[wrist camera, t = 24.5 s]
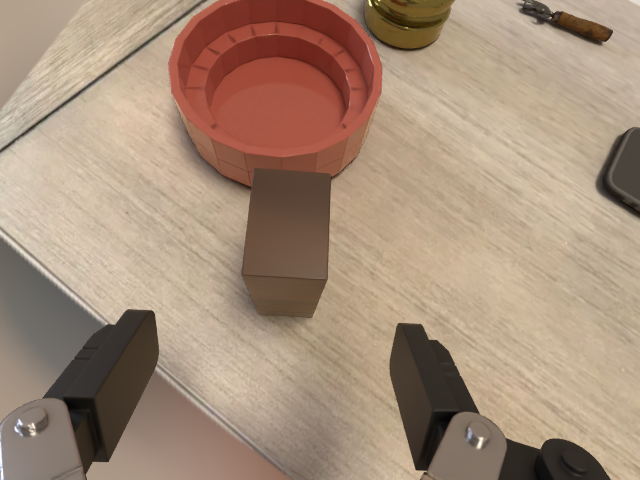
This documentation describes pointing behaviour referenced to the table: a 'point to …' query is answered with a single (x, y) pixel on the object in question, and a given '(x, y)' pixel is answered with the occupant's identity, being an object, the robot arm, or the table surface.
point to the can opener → (571, 22)
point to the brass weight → (407, 21)
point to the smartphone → (625, 170)
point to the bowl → (275, 86)
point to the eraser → (287, 241)
